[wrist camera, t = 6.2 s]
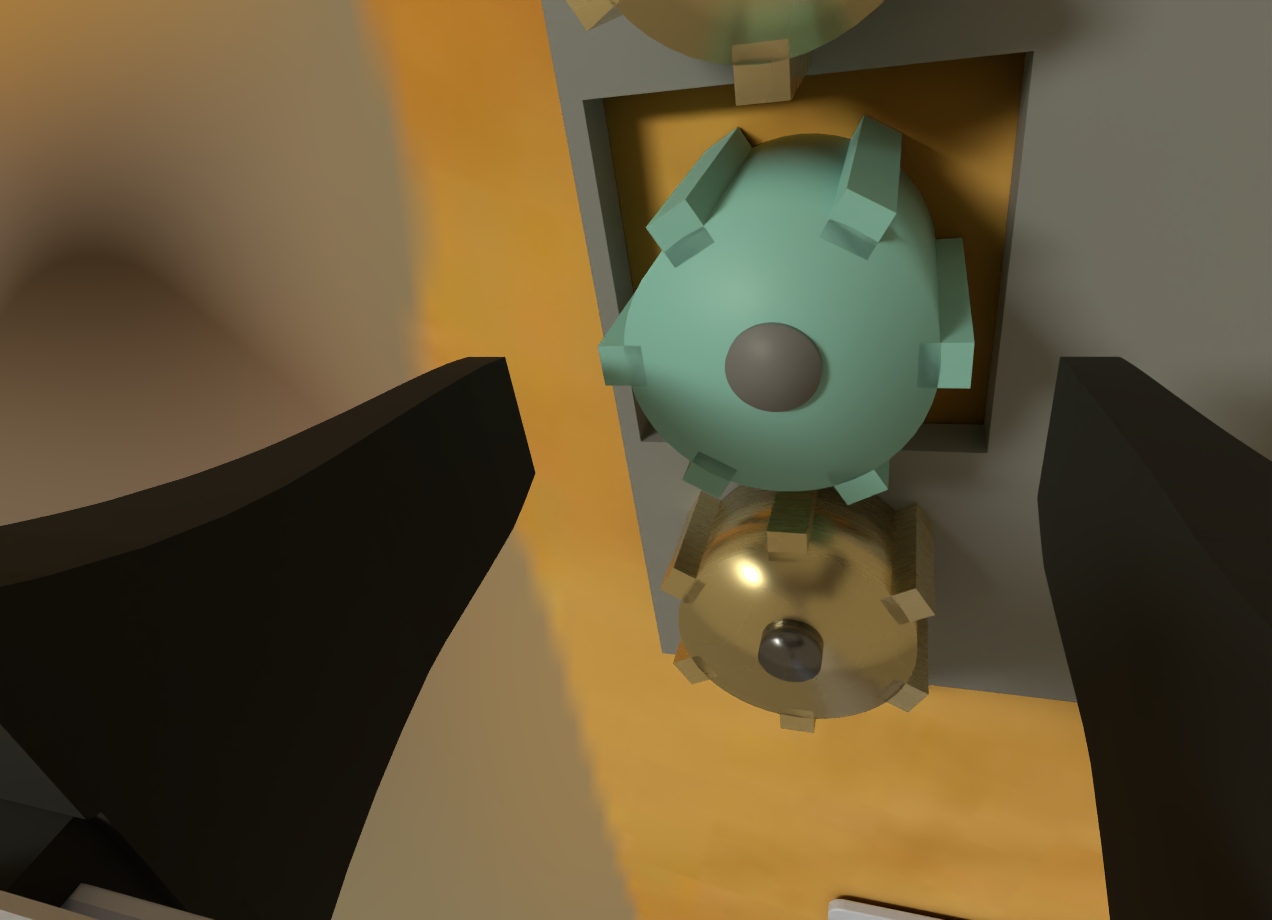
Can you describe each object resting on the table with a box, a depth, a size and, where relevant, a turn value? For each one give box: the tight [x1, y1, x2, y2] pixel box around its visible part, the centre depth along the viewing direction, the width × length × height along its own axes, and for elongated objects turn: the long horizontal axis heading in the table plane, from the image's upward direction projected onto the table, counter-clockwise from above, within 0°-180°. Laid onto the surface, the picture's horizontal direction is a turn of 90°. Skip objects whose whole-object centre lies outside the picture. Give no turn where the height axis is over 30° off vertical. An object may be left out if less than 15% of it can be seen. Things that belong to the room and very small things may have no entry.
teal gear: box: [598, 115, 975, 505], centre depth 13 cm, size 5×5×4 cm
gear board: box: [541, 0, 1272, 733], centre depth 12 cm, size 20×15×4 cm
